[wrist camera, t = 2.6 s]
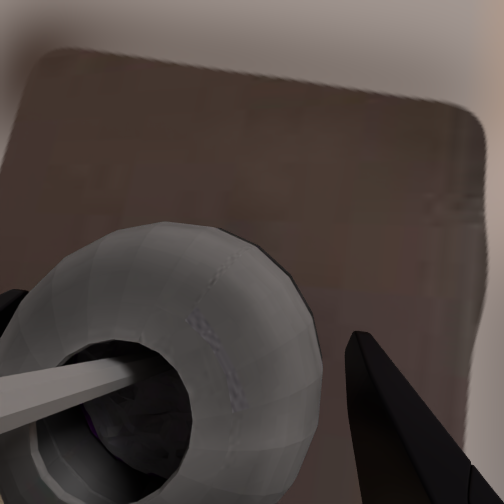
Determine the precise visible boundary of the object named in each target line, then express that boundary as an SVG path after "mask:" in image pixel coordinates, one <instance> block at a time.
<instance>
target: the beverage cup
mask: <svg viewBox="0 0 504 504" xmlns="http://www.w3.org/2000/svg"><path fill="white" fill-rule="evenodd" d="M322 373H323V365H322V354H321V349H320V345H319V340H318V336H317V331H316V326H315V322H314V317H313V313H312V311H311V309H310V307H309V306H308V304H307V302H306V300H305V299H304V297H303V295H302V294H301V292H300V290H299V288H298V287H297V285H296V283H295V281H294V280H293V278H292V276H291V274H289V273H288V272H287V271H286V270H285V269H284V268H283V267H282V266H281V265H280V264H279V263H277V262H276V261H275V260H274V259H273V258H272V257H271V256H270V255H269V254H268V253H267V252H265V251H264V250H263V249H262V248H261V247H260V246H259V245H256V244H254V243H252V242H250V241H248V240H245V239H243V238H241V237H239V236H237V235H235V234H232V233H230V232H228V231H226V230H224V229H221V228H215V227H207V226H199V225H190V224H182V223H173V222H159V223H153V224H148V225H143V226H138V227H132V228H127V229H122V230H117V231H115V232H112V233H110V234H108V235H106V236H104V237H102V238H100V239H99V240H97V241H95V242H93V243H91V244H89V245H87V246H85V247H83V248H81V249H80V250H78V251H76V252H74V253H72V254H70V255H68V256H66V257H65V258H64V259H63V260H62V261H61V262H60V263H59V264H58V265H57V266H56V267H55V268H54V269H52V270H51V271H50V272H49V273H48V274H47V275H46V276H45V277H44V278H43V279H42V280H41V281H40V282H39V283H38V284H37V285H36V286H35V287H34V288H33V289H32V290H31V291H30V292H29V293H28V294H27V295H26V296H25V298H24V299H23V300H22V301H21V303H20V304H19V306H18V308H17V310H16V311H15V313H14V315H13V317H12V319H11V320H10V322H9V324H8V326H7V327H6V329H5V331H4V333H3V335H2V336H1V338H0V495H1V497H2V500H3V502H4V504H276V503H277V502H278V501H279V500H280V499H281V497H282V496H283V495H284V494H285V493H286V491H287V490H288V489H289V488H290V487H291V485H292V484H293V482H294V480H295V479H296V477H297V475H298V472H299V470H300V468H301V465H302V463H303V460H304V458H305V455H306V453H307V450H308V448H309V446H310V443H311V441H312V438H313V436H314V433H315V431H316V428H317V426H318V419H319V408H320V396H321V385H322Z"/></svg>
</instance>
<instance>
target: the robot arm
mask: <svg viewBox="0 0 504 504" xmlns="http://www.w3.org/2000/svg"><path fill="white" fill-rule="evenodd" d="M28 293H29V291H26V290H19V289H12V290H9V291H7V292H5V293H3V294H1V295H0V338H1V336H2V335H3V333H4V331H5V329H6V327H7V326H8V324H9V322H10V320H11V319H12V317H13V315H14V313H15V311H16V310H17V308H18V306H19V304H20V303H21V301H22V300H23V299H24V298H25V296H26V295H27V294H28ZM345 373H346V392H347V409H348V418H349V424H350V430H351V436H352V442H353V449H354V455H355V461H356V467H357V473H358V479H359V485H360V491H361V497H362V504H504V502H503V501H502V500H501V499H500V498H499V496H498V495H497V494H496V493H495V491H494V490H493V489H492V488H491V486H490V485H489V484H488V483H487V481H486V480H485V479H484V478H483V476H482V475H481V474H480V472H479V471H478V470H477V469H476V467H475V466H474V465H471V461H470V460H469V459H468V457H467V456H466V455H465V453H464V452H463V451H462V450H461V448H460V447H459V446H458V445H457V443H456V442H455V441H454V439H453V438H452V437H451V436H450V434H449V433H448V432H447V431H446V429H445V428H444V427H443V425H442V424H441V423H440V422H439V420H438V419H437V418H436V417H435V415H434V414H433V413H432V411H431V410H430V409H429V408H428V406H427V405H426V404H425V402H424V401H423V400H422V399H421V397H420V396H419V395H418V394H417V392H416V391H415V390H414V388H413V387H412V386H411V385H410V383H409V382H408V381H407V380H406V378H405V377H404V376H403V374H402V373H401V372H400V371H399V369H398V368H397V367H396V366H395V364H394V363H393V362H392V360H391V359H390V358H389V357H388V355H387V354H386V353H385V352H384V350H383V349H382V348H381V346H380V345H379V344H378V343H377V341H376V340H375V339H374V338H373V336H372V335H371V334H370V333H368V332H363V331H354V332H353V333H352V335H351V337H350V340H349V342H348V344H347V347H346V349H345Z"/></svg>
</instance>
